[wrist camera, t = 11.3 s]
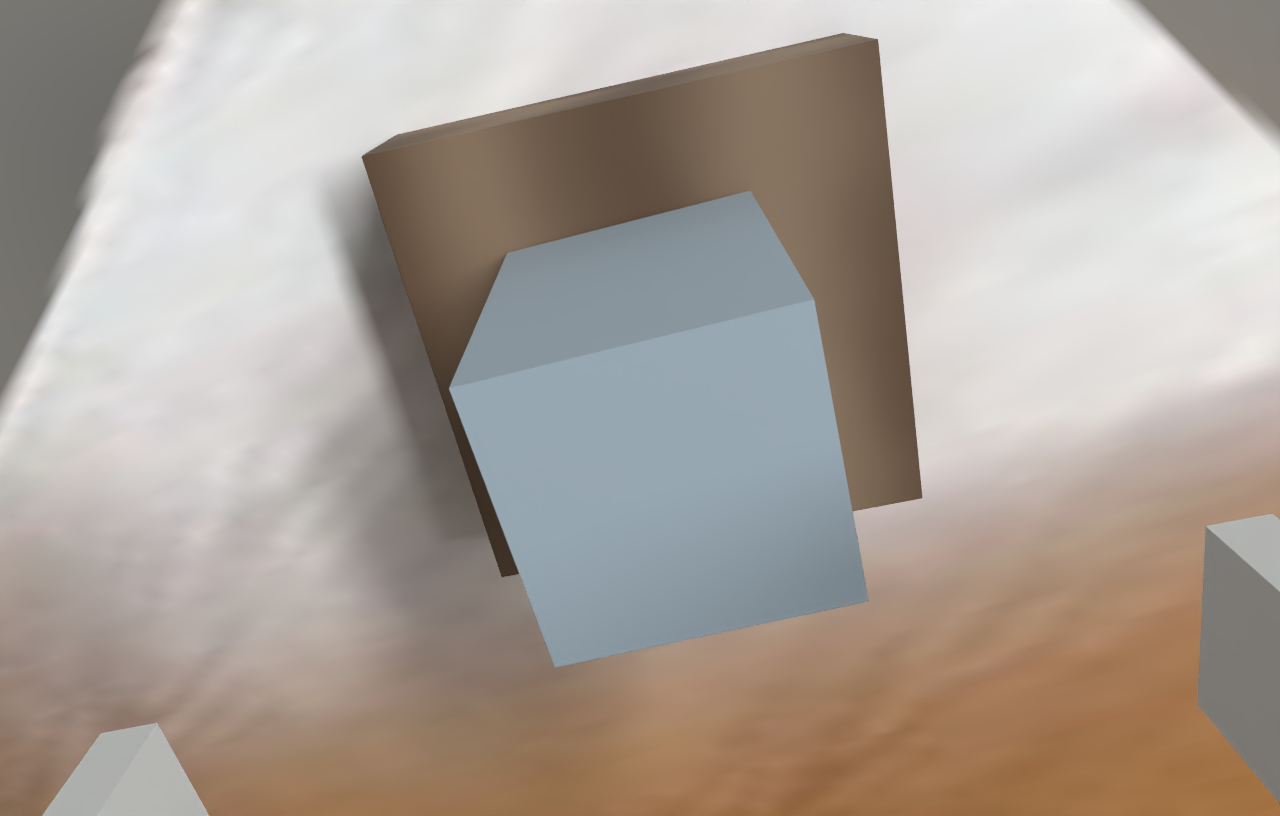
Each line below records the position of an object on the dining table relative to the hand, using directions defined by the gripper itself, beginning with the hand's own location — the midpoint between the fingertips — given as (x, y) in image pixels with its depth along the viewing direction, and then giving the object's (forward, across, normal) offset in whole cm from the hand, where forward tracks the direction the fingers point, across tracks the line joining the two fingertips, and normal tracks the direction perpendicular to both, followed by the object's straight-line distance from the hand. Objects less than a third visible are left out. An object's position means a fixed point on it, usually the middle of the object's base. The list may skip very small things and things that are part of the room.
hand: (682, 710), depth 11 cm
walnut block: (+17, 0, 0) cm, 17 cm away
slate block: (+13, 0, 0) cm, 13 cm away
